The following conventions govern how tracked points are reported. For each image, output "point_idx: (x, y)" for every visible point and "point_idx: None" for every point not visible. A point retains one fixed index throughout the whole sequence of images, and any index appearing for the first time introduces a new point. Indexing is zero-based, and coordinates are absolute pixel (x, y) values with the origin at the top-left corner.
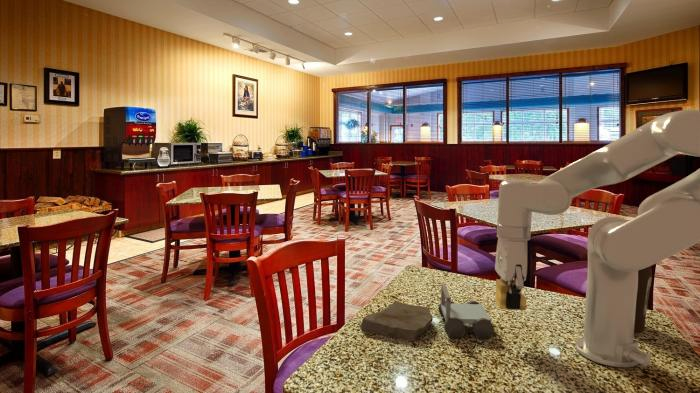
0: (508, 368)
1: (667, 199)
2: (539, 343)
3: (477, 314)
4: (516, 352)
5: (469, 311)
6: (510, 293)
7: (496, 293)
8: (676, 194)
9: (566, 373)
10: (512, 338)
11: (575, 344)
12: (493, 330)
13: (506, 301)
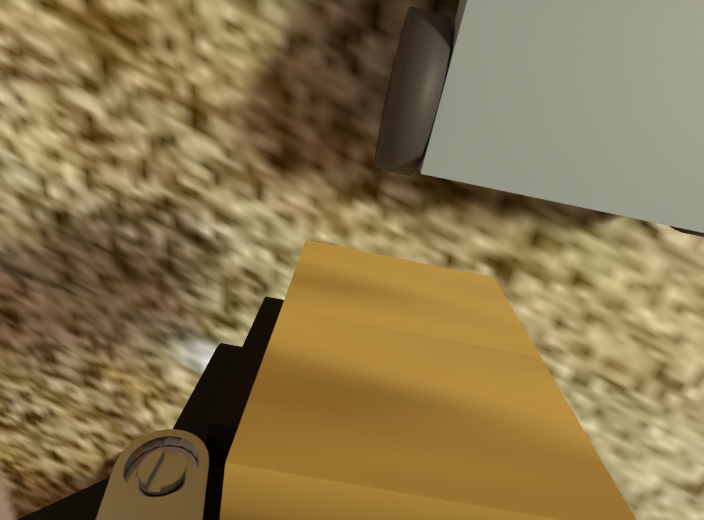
0: (50, 78)
1: None
2: None
3: (545, 104)
4: (222, 207)
5: (631, 54)
6: (144, 447)
7: (486, 335)
8: None
9: (49, 318)
10: None
11: None
12: (375, 161)
13: (253, 336)
